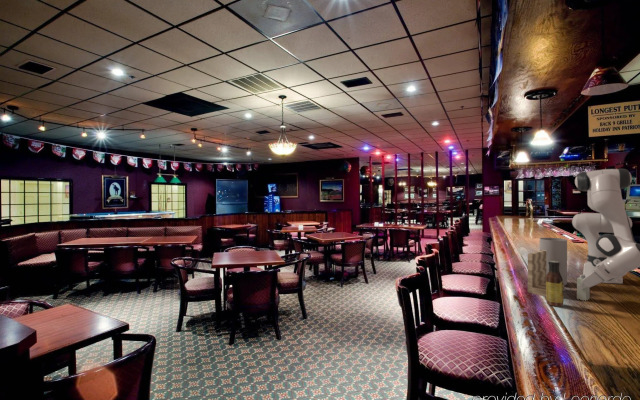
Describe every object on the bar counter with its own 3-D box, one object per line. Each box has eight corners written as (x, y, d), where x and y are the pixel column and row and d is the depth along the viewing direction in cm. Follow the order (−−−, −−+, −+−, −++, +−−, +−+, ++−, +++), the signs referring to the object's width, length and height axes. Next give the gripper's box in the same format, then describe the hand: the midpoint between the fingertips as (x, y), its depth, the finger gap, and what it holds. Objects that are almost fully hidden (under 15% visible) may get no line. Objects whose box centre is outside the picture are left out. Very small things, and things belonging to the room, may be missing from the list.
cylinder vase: (543, 284, 174) (543, 240, 173) (537, 279, 185) (537, 237, 185) (570, 287, 169) (570, 241, 169) (562, 281, 181) (562, 238, 180)
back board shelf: (542, 286, 171) (542, 249, 171) (564, 290, 163) (564, 252, 163) (527, 292, 161) (527, 253, 161) (550, 297, 153) (550, 256, 152)
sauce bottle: (566, 307, 139) (566, 263, 139) (550, 306, 140) (550, 262, 140) (558, 302, 146) (558, 260, 145) (543, 301, 147) (543, 259, 147)
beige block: (580, 296, 153) (580, 273, 153) (589, 298, 150) (589, 275, 150) (576, 299, 150) (576, 275, 150) (586, 300, 147) (586, 276, 147)
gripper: (608, 262, 150) (583, 277, 158) (595, 268, 139) (568, 285, 147) (621, 273, 147) (594, 288, 155) (608, 280, 135) (580, 296, 143)
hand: (581, 287), depth 151 cm, fingers closed on beige block, 5 cm apart
